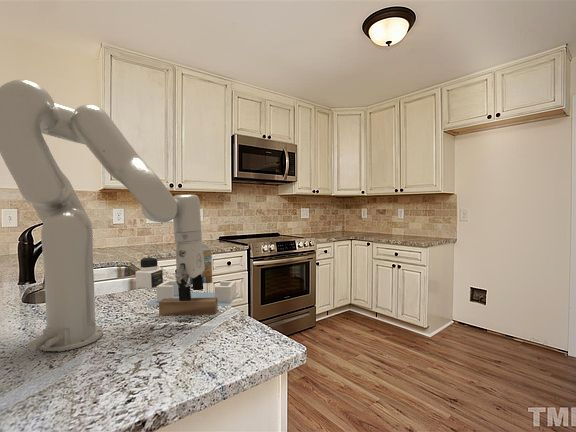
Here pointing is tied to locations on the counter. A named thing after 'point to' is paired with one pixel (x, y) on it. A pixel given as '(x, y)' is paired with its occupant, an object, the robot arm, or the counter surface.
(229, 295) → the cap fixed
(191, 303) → the brown rectangular block
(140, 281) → the medicine bottle
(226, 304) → the board
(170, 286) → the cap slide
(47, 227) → the robot arm
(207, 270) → the milk carton
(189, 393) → the counter surface
